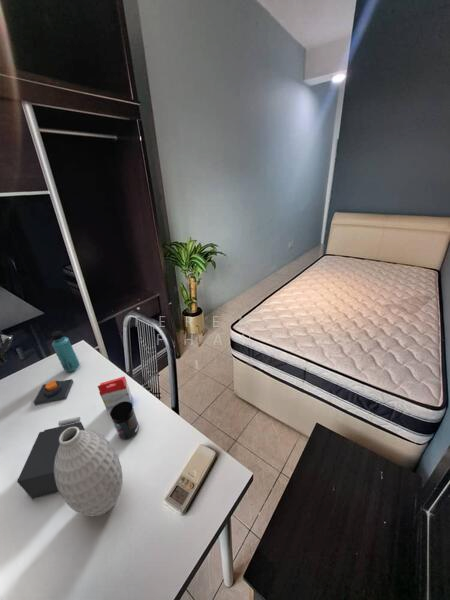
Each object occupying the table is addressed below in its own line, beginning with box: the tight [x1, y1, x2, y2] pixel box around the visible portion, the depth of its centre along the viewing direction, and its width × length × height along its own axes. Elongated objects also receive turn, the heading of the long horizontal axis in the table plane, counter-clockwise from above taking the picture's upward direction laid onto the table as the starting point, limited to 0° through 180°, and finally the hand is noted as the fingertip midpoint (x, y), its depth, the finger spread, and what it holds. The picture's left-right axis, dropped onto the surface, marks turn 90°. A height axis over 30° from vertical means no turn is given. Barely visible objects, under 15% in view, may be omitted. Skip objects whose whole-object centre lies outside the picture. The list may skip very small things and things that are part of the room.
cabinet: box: [16, 422, 85, 500], centre depth 71 cm, size 14×12×9 cm
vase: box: [54, 427, 124, 517], centre depth 59 cm, size 13×13×28 cm
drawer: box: [43, 416, 86, 431], centre depth 75 cm, size 17×10×7 cm, turn 13°
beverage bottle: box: [50, 330, 80, 372], centre depth 105 cm, size 6×7×20 cm
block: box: [32, 378, 74, 406], centre depth 98 cm, size 11×9×4 cm
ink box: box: [97, 376, 134, 416], centre depth 88 cm, size 8×5×15 cm, turn 111°
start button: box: [45, 380, 57, 391], centre depth 97 cm, size 4×4×2 cm
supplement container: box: [109, 401, 140, 440], centre depth 80 cm, size 7×7×10 cm
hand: (2, 363), depth 81 cm, fingers closed
